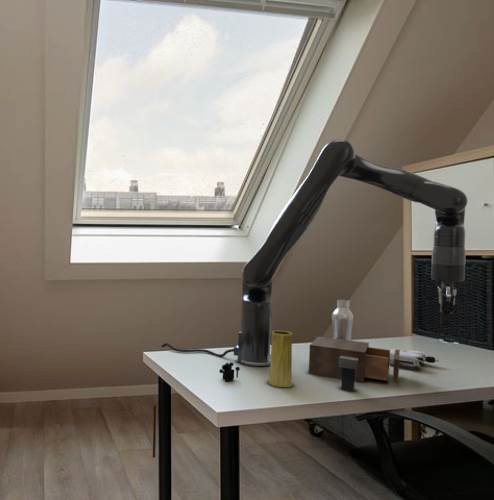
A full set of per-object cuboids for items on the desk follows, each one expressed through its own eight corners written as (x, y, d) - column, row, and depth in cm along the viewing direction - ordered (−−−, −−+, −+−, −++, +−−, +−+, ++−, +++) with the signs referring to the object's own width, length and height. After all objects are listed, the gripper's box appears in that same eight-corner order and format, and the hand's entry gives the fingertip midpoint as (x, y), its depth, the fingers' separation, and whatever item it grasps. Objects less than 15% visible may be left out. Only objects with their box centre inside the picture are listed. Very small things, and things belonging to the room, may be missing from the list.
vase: (280, 388, 126) (282, 335, 126) (263, 382, 131) (265, 331, 131) (296, 386, 129) (298, 333, 128) (279, 379, 134) (281, 329, 134)
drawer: (418, 375, 139) (419, 352, 138) (419, 387, 127) (420, 362, 127) (348, 365, 148) (349, 343, 148) (343, 375, 137) (344, 352, 136)
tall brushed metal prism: (338, 389, 127) (339, 357, 127) (339, 386, 129) (340, 355, 129) (356, 392, 125) (357, 360, 124) (357, 389, 127) (358, 358, 127)
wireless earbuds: (220, 383, 130) (221, 364, 130) (214, 380, 132) (215, 362, 132) (240, 379, 133) (241, 362, 133) (234, 377, 135) (235, 359, 135)
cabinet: (367, 370, 146) (368, 342, 146) (363, 382, 133) (365, 352, 133) (316, 362, 154) (317, 336, 153) (308, 373, 141) (309, 344, 141)
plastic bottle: (355, 364, 153) (357, 302, 152) (332, 362, 154) (334, 301, 154) (349, 359, 159) (351, 299, 159) (328, 357, 161) (330, 298, 160)
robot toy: (402, 360, 163) (376, 361, 155) (404, 347, 163) (377, 348, 155) (441, 369, 152) (414, 371, 145) (442, 355, 152) (415, 356, 145)
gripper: (430, 261, 137) (428, 321, 137) (432, 263, 125) (429, 328, 126) (462, 262, 133) (460, 324, 133) (467, 264, 121) (464, 332, 122)
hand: (445, 326), depth 129 cm, fingers closed
